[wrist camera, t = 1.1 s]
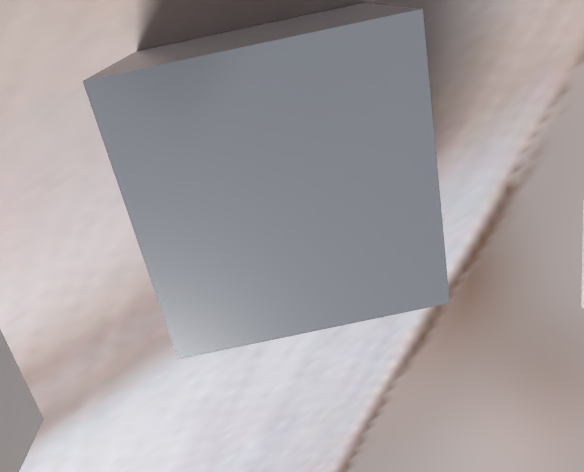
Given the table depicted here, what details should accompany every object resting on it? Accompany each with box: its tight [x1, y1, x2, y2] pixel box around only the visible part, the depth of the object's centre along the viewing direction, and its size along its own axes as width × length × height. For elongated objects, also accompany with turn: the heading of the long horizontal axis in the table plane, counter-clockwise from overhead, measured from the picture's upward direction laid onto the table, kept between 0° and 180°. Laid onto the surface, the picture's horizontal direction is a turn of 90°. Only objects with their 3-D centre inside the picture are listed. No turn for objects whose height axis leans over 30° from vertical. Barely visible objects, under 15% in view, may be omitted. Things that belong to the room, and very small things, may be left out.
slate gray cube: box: [83, 2, 450, 359], centre depth 22 cm, size 10×10×9 cm
